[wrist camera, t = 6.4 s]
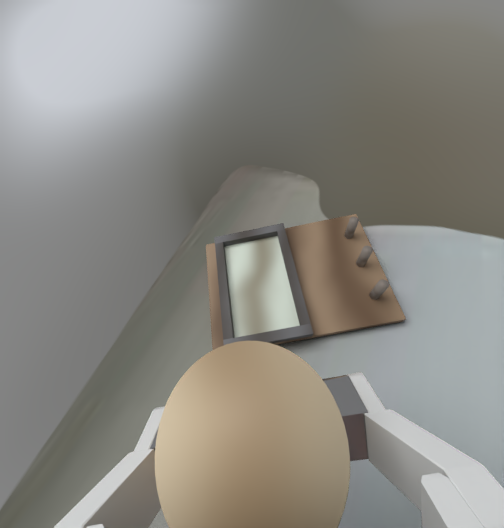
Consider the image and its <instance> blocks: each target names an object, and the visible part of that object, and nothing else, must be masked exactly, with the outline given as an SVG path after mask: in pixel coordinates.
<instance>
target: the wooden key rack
mask: <svg viewBox="0 0 504 528" xmlns="http://www.w3.org/2000/svg"><path fill="white" fill-rule="evenodd" d="M214 239H215V243H213V244H208V245H206V254H207V269H208V285H209V301H210V316H211V332H212V347H213V350H214V349H216V348H219V347H221V346H224V345H226V344H230V343H234V342H239V341H262V342H268V343H271V344H275V345H277V344H283V343H288V342H294V341H299V340H305V339H310V338H316V337H321V336H327V335H332V334H338V333H343V332H349V331H354V330H360V329H365V328H370V327H376V326H381V325H387V324H392V323H398V322H402V321H404V320H405V319H406V318H405V316H404V314H403V312H402V309H401V307H400V305H399V303H398V301H397V299H396V297H395V295H394V293H393V291H392V288H391V286H390V284H389V282H388V280H387V278H386V276H385V274H384V272H383V270H382V267H381V265H380V263H379V261H378V259H377V257H376V255H375V253H374V251H373V249H372V246H371V244H370V242H369V240H368V238H367V236H366V234H365V232H364V230H363V228H362V225H361V224H360V221H359V219H358V217H357V215H356V214H353V215H348V216H344V217H339V218H334V219H329V220H324V221H319V222H314V223H310V224H305V225H300V226H295V227H290V228H284V224H283V223H282V224H277V225H272V226H267V227H262V228H258V229H253V230H248V231H243V232H238V233H234V234H229V235H224V236H219V237H214Z"/></svg>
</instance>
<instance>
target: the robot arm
mask: <svg viewBox="0 0 504 528" xmlns="http://www.w3.org/2000/svg"><path fill="white" fill-rule="evenodd" d="M322 380H323V381H324V383H325V384H326V385H327V387H328V389H329V390H330V392H331V394H332V395H333V397H334V399H335V402H336V404H337V406H338V408H339V410H340V413H341V416H342V419H343V422H344V425H345V429H346V434H347V438H348V445H349V453H350V461H354V460H363V459H369V461H370V462H371V463H372V464H373V465H374V466H375V467H376V468H377V469H378V470H379V471H380V472H381V473H382V474H383V475H384V476H385V477H386V478H387V479H389V480H390V481H391V482H392V483H393V484H394V485H395V486H396V487H397V488H398V489H399V490H400V491H401V492H402V493H403V494H404V495H405V496H406V497H407V498H408V499H409V500H410V501H411V502H412V503H413V504H414V505H415V506H416V507H417V508H418V509H419V510H420V511H421V515H422V528H504V489H503V487H502V486H501V485H500V484H499V483H498V482H497V480H496V479H495V478H494V477H493V476H492V475H491V474H490V472H489V471H488V470H487V469H486V468H485V467H484V465H482V464H481V463H479V462H477V461H476V460H474V459H473V458H471V457H469V456H468V455H466V454H464V453H463V452H461V451H459V450H458V449H456V448H454V447H453V446H451V445H449V444H448V443H446V442H444V441H443V440H441V439H439V438H438V437H436V436H434V435H433V434H431V433H430V432H428V431H426V430H425V429H423V428H421V427H420V426H418V425H416V424H415V423H413V422H411V421H410V420H408V419H406V418H405V417H403V416H401V415H400V414H398V413H396V412H395V411H393V410H391V409H390V410H386V408H385V407H384V405H383V404H382V402H381V401H380V399H379V397H378V396H377V394H376V393H375V391H374V390H373V388H372V387H371V385H370V384H369V382H368V380H367V379H366V377H365V376H364V374H363V373H361V372H358V373H353V374H348V375H343V376H338V377H332V378H327V379H322ZM164 408H165V407H157V408H155V409H154V410H153V411H152V413H151V415H150V417H149V420H148V422H147V424H146V426H145V428H144V430H143V433H142V435H141V437H140V439H139V441H138V443H137V446H136V448H135V450H134V452H131V453H129V454H128V455H127V456H126V457H125V458H124V459H123V460H122V461H121V462H119V463H118V464H117V465H116V466H115V467H114V468H113V469H112V470H111V471H110V472H109V473H108V474H107V475H106V476H105V477H104V478H103V479H102V480H101V481H100V482H99V483H98V484H97V485H96V486H95V487H94V488H93V489H92V490H91V491H90V492H89V493H88V494H87V495H86V496H85V497H84V498H83V499H82V500H81V501H80V502H79V503H78V504H77V505H76V506H75V507H74V508H73V509H72V510H71V511H70V512H69V513H68V514H67V515H66V516H65V517H64V518H63V519H62V520H61V521H60V522H59V523H58V524H57V525H56V526H55V527H54V528H148V527H149V526H150V524H151V523H152V521H153V520H154V518H155V516H156V515H157V513H158V512H159V510H160V509H161V505H160V501H159V496H158V491H157V486H156V477H155V447H156V438H157V433H158V428H159V424H160V420H161V417H162V414H163V411H164Z"/></svg>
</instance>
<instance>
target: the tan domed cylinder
mask: <svg viewBox="0 0 504 528" xmlns="http://www.w3.org/2000/svg"><path fill="white" fill-rule="evenodd" d="M155 477H156V486H157V491H158V496H159V501H160V505H161V508H162V510H163V513H164V516H165V519H166V521H167V524H168V526H169V528H338V525H339V523H340V520H341V517H342V514H343V512H344V508H345V504H346V500H347V495H348V489H349V480H350V453H349V445H348V438H347V434H346V429H345V425H344V422H343V419H342V416H341V413H340V410H339V408H338V406H337V404H336V402H335V399H334V397H333V395H332V394H331V392H330V390H329V389H328V387H327V385H326V384H325V383H324V381H323V380H322V379H321V377H320V376H319V375H318V374H317V372H316V371H315V370H314V369H313V368H312V367H311V366H310V365H309V364H308V363H306V362H305V361H304V360H303V359H301V358H300V357H299V356H297V355H296V354H294V353H292V352H291V351H289V350H287V349H285V348H283V347H280V346H278V345H275V344H271V343H268V342H262V341H239V342H234V343H230V344H226V345H224V346H221V347H219V348H216V349H214V350H213V351H211V352H209V353H207V354H206V355H204V356H203V357H202V358H200V359H199V360H198V361H197V362H195V363H194V364H193V365H192V366H191V367H190V368H189V369H188V370H187V372H186V373H185V374H184V375H183V376H182V377H181V379H180V380H179V382H178V383H177V385H176V386H175V388H174V389H173V391H172V393H171V395H170V397H169V399H168V401H167V404H166V406H165V408H164V411H163V414H162V417H161V420H160V424H159V428H158V433H157V438H156V447H155Z"/></svg>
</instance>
